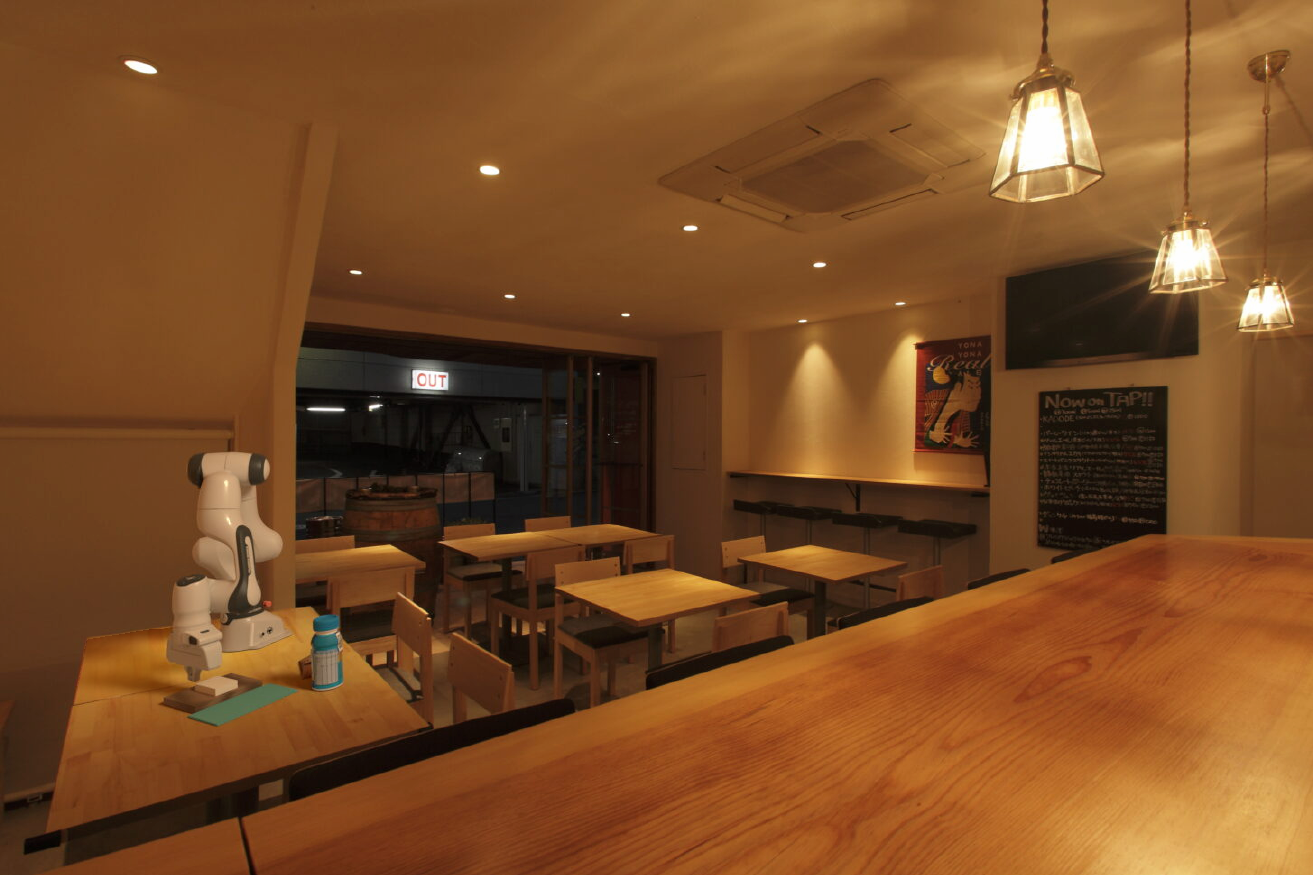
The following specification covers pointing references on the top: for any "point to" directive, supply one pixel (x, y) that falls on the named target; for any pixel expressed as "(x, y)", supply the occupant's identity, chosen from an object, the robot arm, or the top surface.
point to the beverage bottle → (326, 653)
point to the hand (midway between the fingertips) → (194, 680)
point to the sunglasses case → (306, 667)
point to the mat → (242, 704)
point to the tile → (216, 685)
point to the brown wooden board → (200, 701)
